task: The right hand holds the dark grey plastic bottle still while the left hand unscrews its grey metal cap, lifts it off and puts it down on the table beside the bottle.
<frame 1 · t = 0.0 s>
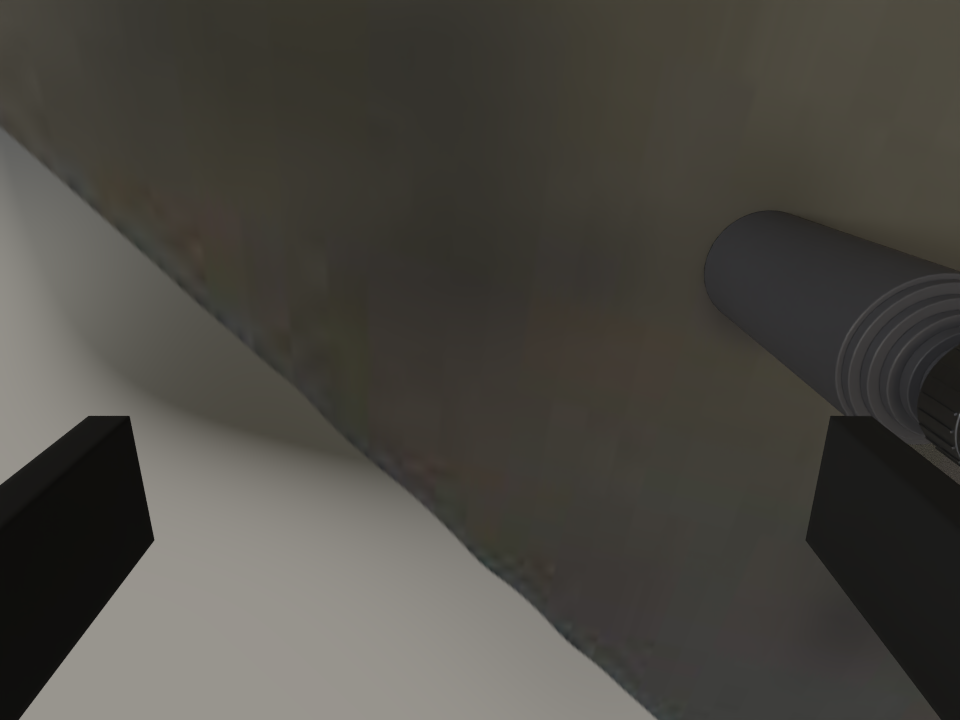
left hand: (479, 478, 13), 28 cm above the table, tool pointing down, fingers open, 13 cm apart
bottle: (761, 268, 40), on the table
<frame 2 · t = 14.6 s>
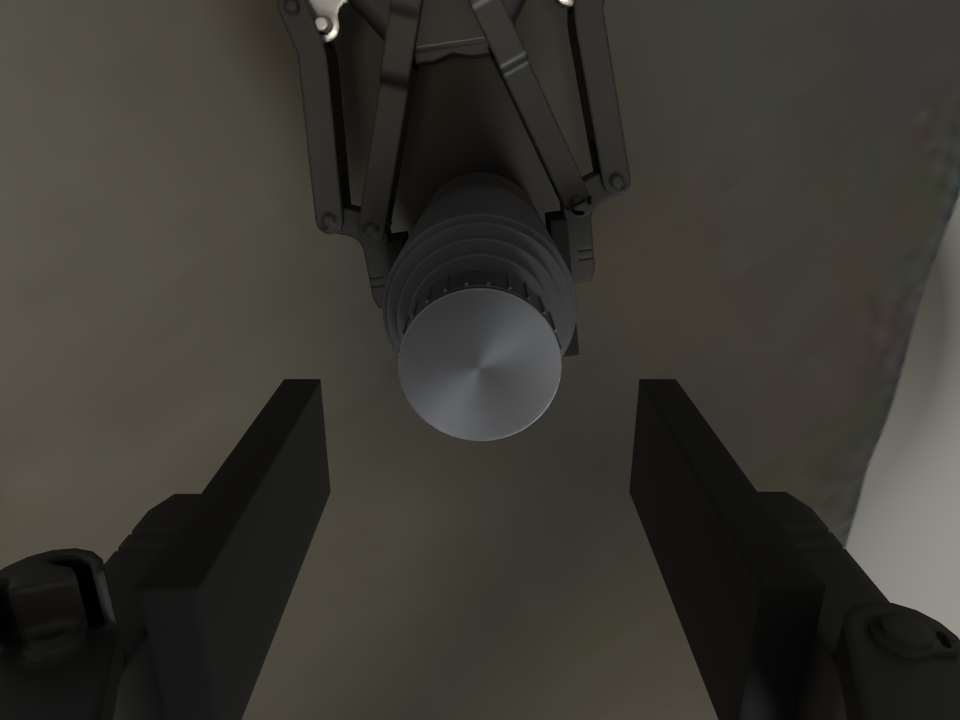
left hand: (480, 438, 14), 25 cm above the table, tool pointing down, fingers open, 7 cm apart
right hand: (493, 354, 34), fingers closed on bottle, 7 cm apart
cap: (479, 364, 19), point 21 cm above the table, screwed on, not yet turned
bottle: (479, 233, 38), on the table, touching right hand
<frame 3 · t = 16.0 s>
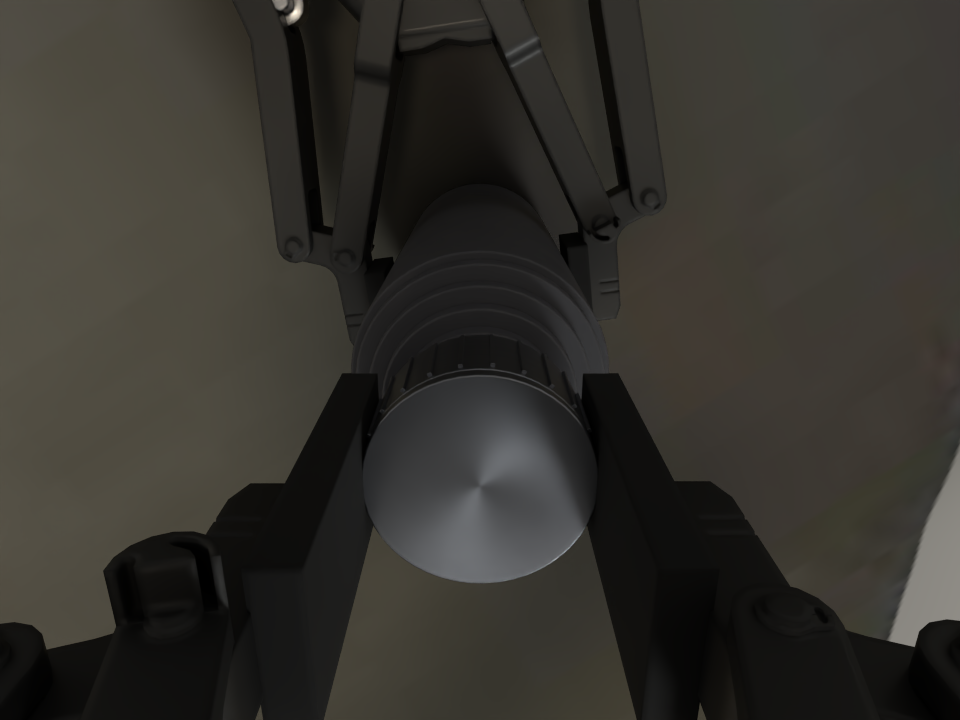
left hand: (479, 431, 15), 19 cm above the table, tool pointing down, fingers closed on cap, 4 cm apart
right hand: (496, 405, 28), fingers closed on bottle, 7 cm apart
cap: (480, 477, 13), point 21 cm above the table, screwed on, not yet turned, touching left hand
bottle: (480, 255, 32), on the table, touching right hand
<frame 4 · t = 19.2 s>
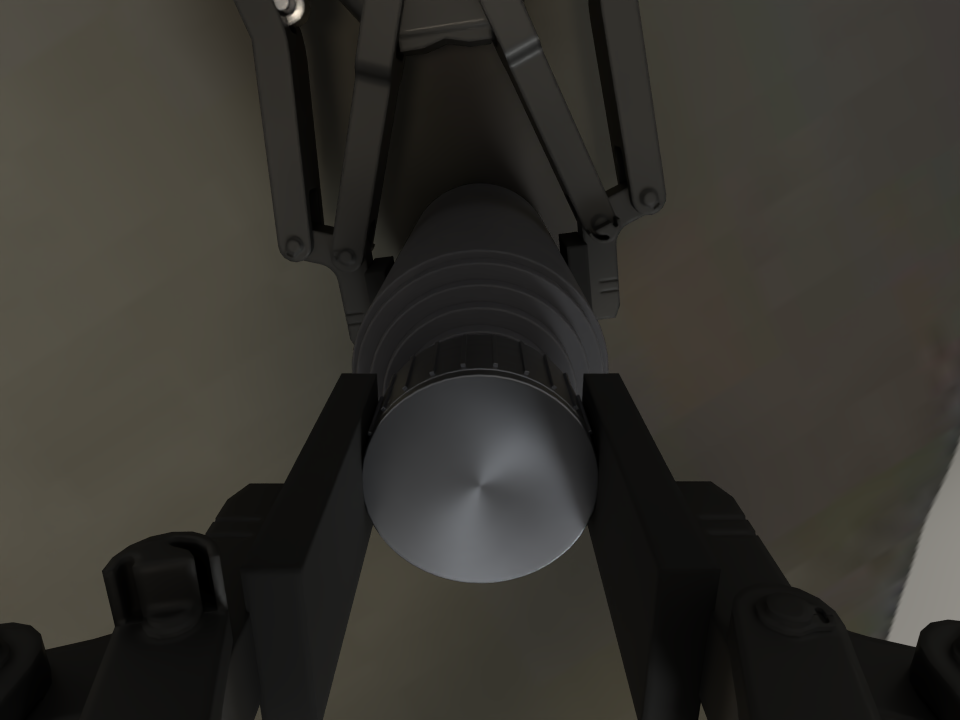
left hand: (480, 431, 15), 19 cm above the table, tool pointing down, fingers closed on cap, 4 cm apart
right hand: (495, 404, 28), fingers closed on bottle, 7 cm apart
cap: (480, 477, 13), point 21 cm above the table, turned 104° so far, risen 0.1 cm, still on its thread, touching left hand
bottle: (480, 255, 33), on the table, touching right hand
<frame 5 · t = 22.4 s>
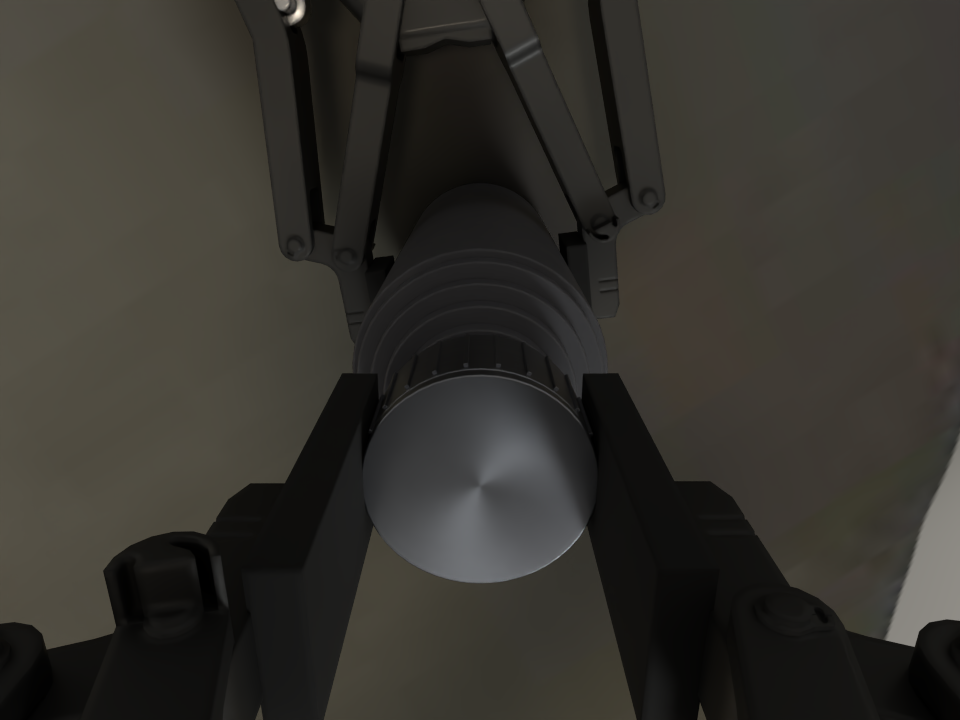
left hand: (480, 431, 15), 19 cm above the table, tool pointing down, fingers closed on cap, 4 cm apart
right hand: (495, 403, 28), fingers closed on bottle, 7 cm apart
cap: (480, 477, 13), point 21 cm above the table, turned 208° so far, risen 0.2 cm, still on its thread, touching left hand
bottle: (480, 254, 33), on the table, touching right hand
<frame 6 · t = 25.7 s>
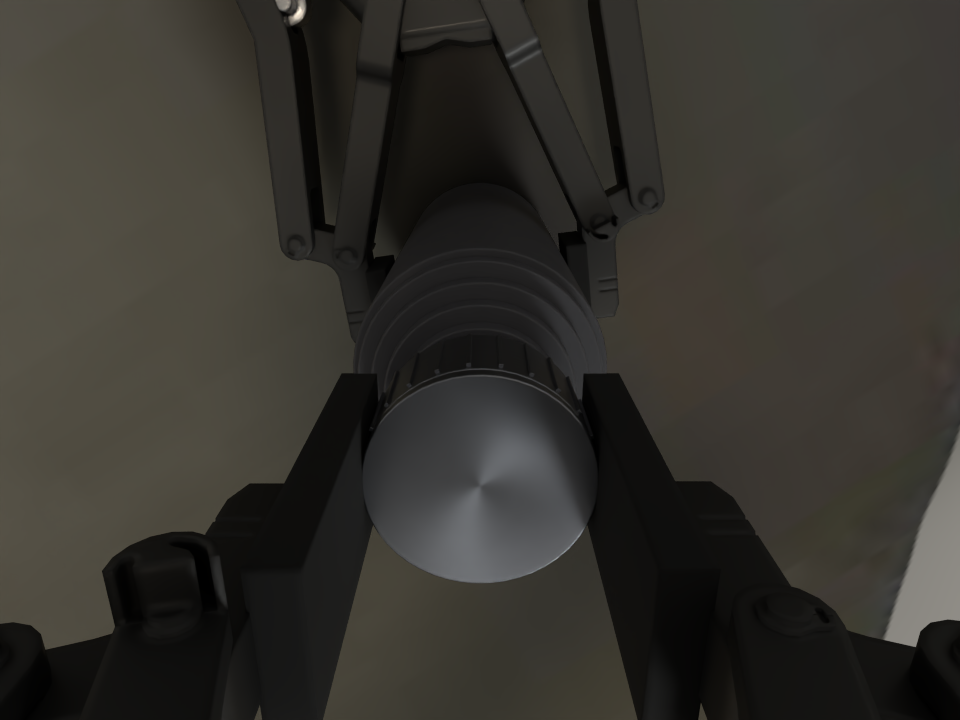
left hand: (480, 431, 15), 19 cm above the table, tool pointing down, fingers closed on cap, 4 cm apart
right hand: (495, 402, 28), fingers closed on bottle, 7 cm apart
cap: (480, 477, 13), point 21 cm above the table, turned 311° so far, risen 0.3 cm, still on its thread, touching left hand
bottle: (480, 254, 33), on the table, touching right hand
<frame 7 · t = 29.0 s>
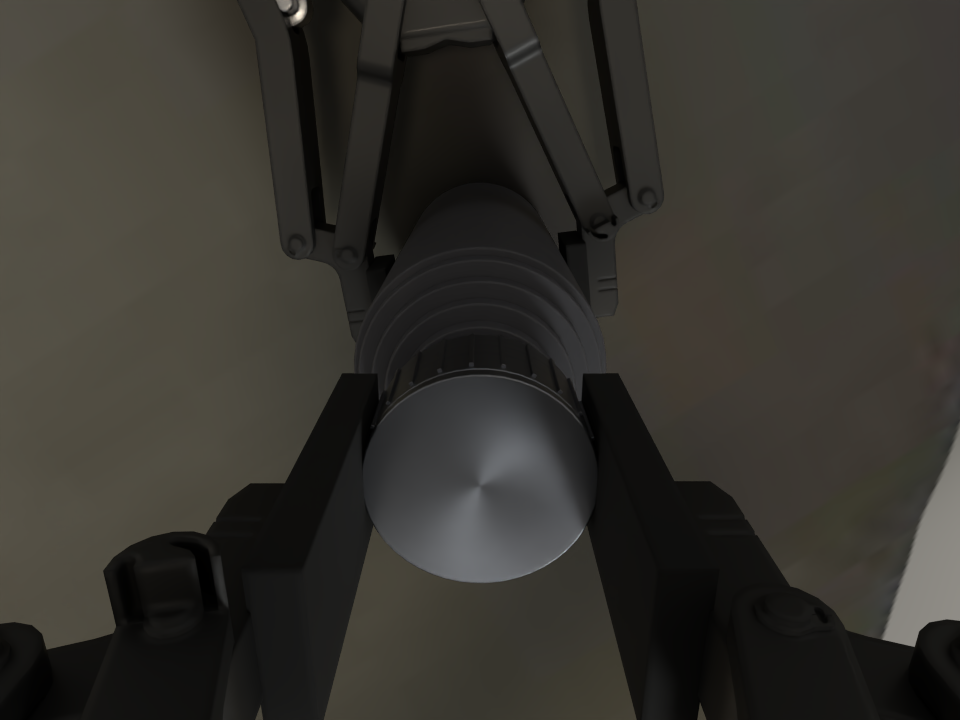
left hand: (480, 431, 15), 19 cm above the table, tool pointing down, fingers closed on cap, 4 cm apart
right hand: (495, 400, 28), fingers closed on bottle, 7 cm apart
cap: (480, 477, 13), point 21 cm above the table, turned 415° so far, risen 0.4 cm, still on its thread, touching left hand
bottle: (480, 253, 33), on the table, touching right hand
when the left hand's fingers open (1 cm above the table, at t = 34.8 s): cap drops 1 cm, point 2 cm above the table.
when the right hand's fingers open (7 cm above the table, at t = 36.0 s): bottle stays where it is, on the table.
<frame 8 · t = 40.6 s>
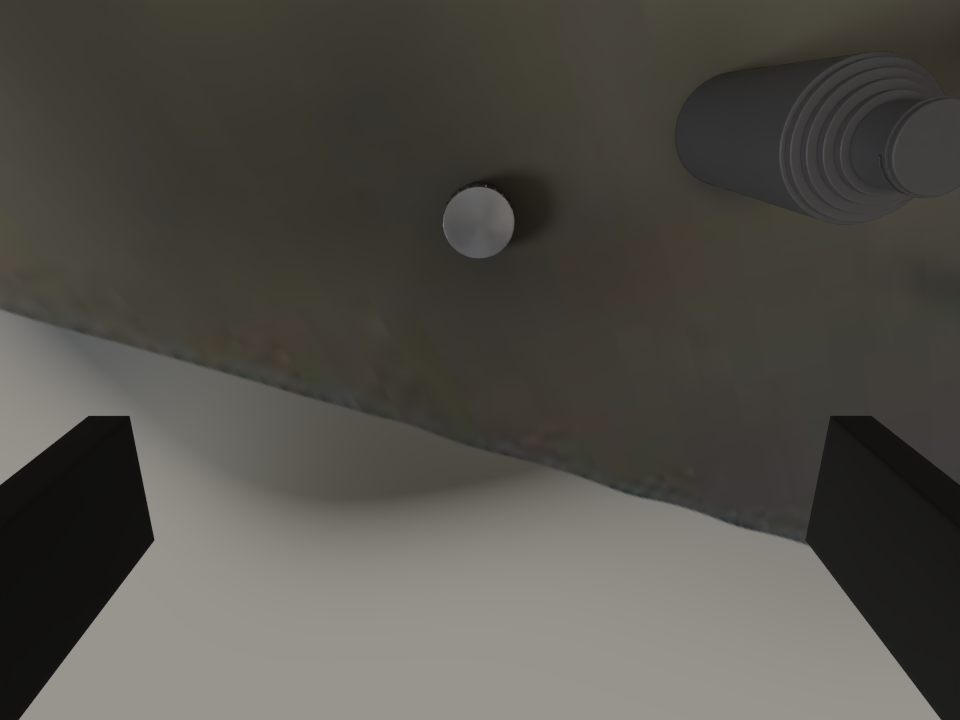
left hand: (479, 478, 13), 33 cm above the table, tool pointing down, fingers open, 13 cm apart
cap: (478, 222, 42), point 2 cm above the table, off its thread
bottle: (729, 130, 42), on the table
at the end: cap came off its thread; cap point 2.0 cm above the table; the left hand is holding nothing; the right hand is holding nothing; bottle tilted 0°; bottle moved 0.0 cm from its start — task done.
